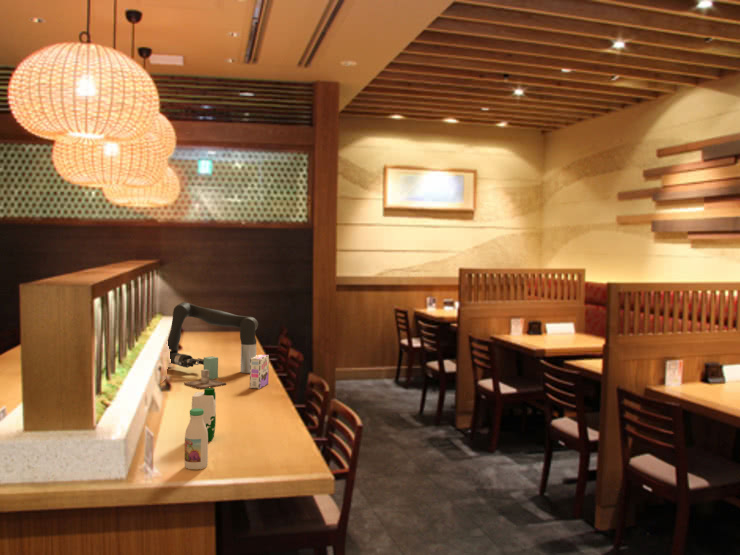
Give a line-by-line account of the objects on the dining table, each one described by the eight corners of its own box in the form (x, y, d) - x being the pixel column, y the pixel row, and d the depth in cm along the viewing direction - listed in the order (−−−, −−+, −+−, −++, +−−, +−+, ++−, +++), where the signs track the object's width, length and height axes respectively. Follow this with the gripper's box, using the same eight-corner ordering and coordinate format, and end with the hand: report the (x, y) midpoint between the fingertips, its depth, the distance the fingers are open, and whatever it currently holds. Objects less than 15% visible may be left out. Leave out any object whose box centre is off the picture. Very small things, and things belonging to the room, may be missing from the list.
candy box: (259, 389, 338) (260, 358, 338) (249, 388, 340) (249, 358, 339) (268, 384, 352) (269, 354, 351) (258, 383, 353) (259, 354, 352)
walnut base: (208, 380, 358) (209, 366, 357) (226, 384, 347) (226, 370, 347) (184, 384, 346) (184, 370, 345) (201, 389, 335) (201, 374, 335)
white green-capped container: (213, 442, 246) (213, 391, 245) (189, 442, 245) (190, 391, 244) (216, 435, 254) (217, 386, 254) (193, 435, 254) (194, 386, 253)
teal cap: (211, 376, 367) (212, 356, 367) (217, 378, 364) (218, 357, 363) (203, 378, 363) (203, 357, 362) (209, 379, 359) (209, 358, 359)
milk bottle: (197, 461, 224) (198, 405, 223) (212, 466, 219) (213, 409, 218) (179, 467, 217) (180, 409, 216) (194, 472, 213) (195, 413, 212)
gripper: (173, 355, 376) (188, 359, 365) (193, 352, 386) (209, 356, 376) (173, 368, 376) (188, 372, 365) (193, 365, 387) (209, 368, 376)
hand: (199, 364), depth 371 cm, fingers open, 8 cm apart
